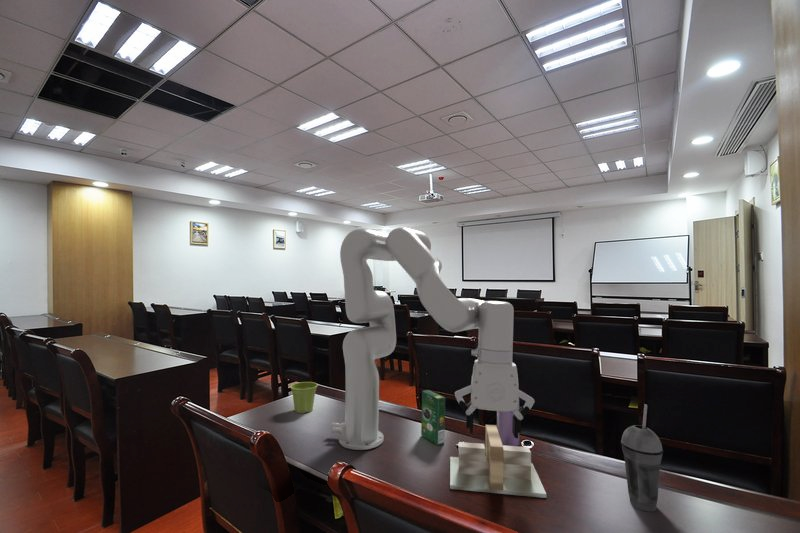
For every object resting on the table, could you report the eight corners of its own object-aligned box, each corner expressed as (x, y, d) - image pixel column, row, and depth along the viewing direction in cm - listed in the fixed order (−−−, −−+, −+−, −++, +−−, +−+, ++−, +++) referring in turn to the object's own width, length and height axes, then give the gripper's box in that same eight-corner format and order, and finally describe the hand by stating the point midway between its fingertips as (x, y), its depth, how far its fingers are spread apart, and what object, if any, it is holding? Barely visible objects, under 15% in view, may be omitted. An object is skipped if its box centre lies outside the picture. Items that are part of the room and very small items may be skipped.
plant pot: (284, 414, 120) (285, 388, 120) (296, 405, 129) (297, 381, 130) (311, 416, 119) (311, 389, 119) (321, 406, 128) (321, 382, 128)
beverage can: (520, 450, 96) (520, 393, 97) (497, 447, 97) (497, 392, 98) (517, 440, 102) (517, 387, 103) (496, 438, 103) (496, 386, 104)
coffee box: (445, 444, 99) (446, 396, 100) (437, 446, 97) (438, 398, 98) (428, 434, 106) (428, 389, 106) (420, 436, 104) (421, 390, 105)
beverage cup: (613, 494, 76) (611, 399, 77) (645, 493, 76) (643, 398, 77) (639, 516, 68) (637, 411, 70) (674, 515, 69) (671, 410, 70)
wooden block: (503, 490, 75) (503, 447, 76) (490, 489, 76) (490, 446, 76) (496, 462, 87) (496, 425, 88) (485, 461, 87) (485, 424, 88)
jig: (450, 488, 77) (450, 456, 77) (450, 459, 90) (450, 432, 90) (546, 497, 74) (546, 464, 75) (532, 466, 87) (532, 438, 87)
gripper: (456, 357, 77) (453, 436, 77) (539, 362, 75) (537, 445, 74) (455, 350, 85) (453, 423, 84) (531, 355, 82) (529, 430, 82)
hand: (492, 433), depth 79 cm, fingers open, 9 cm apart
